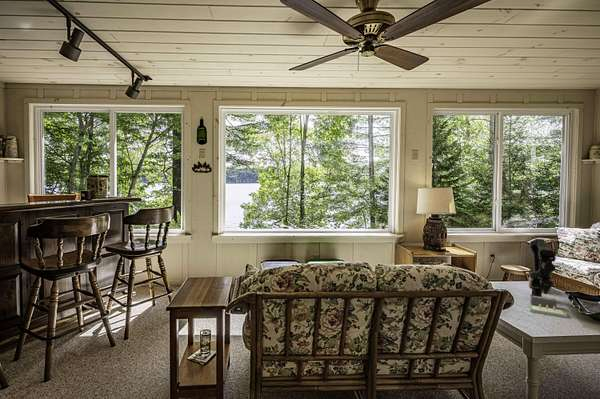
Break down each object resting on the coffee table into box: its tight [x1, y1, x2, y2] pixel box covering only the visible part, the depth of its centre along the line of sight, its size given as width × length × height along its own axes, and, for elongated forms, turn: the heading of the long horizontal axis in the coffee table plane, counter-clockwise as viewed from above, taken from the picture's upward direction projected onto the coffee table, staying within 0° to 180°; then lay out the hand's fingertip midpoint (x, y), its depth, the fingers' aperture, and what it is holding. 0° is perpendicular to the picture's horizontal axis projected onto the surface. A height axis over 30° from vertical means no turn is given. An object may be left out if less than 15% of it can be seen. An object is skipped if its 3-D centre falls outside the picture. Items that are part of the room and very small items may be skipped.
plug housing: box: [529, 294, 558, 309], centre depth 210 cm, size 5×13×5 cm, turn 62°
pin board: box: [527, 304, 568, 319], centre depth 198 cm, size 9×18×4 cm, turn 62°
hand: (543, 292), depth 210 cm, fingers open, 9 cm apart
